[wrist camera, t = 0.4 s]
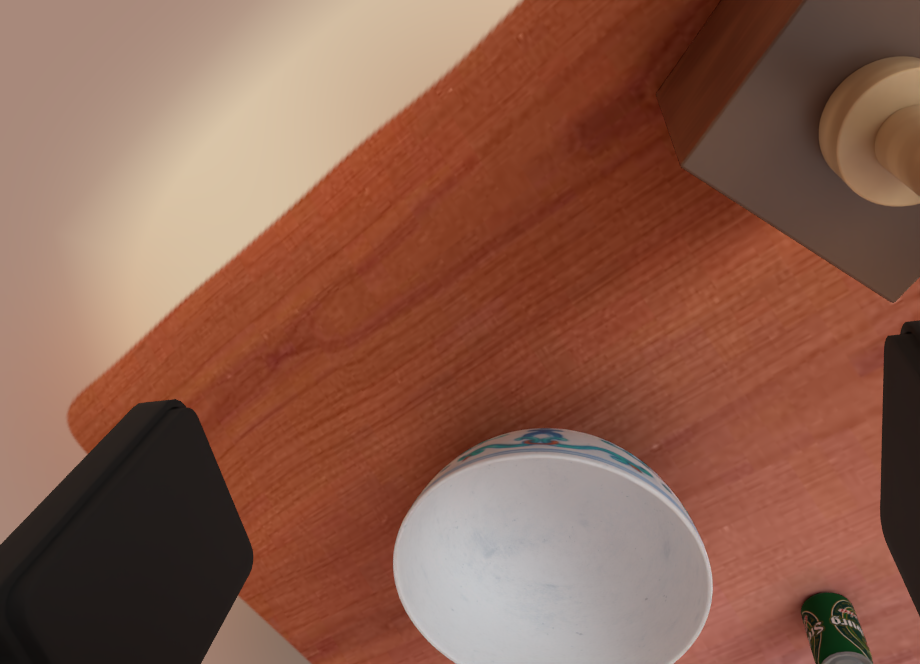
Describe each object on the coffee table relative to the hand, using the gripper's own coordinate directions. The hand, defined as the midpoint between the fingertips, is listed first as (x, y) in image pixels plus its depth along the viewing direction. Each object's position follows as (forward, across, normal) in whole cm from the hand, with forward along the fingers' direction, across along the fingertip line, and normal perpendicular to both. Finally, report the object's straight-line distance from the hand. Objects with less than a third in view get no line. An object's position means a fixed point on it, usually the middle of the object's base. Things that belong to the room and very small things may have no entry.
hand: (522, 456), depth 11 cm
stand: (+27, -9, +1) cm, 28 cm away
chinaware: (+27, +4, +21) cm, 34 cm away
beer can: (+27, -10, +31) cm, 42 cm away
